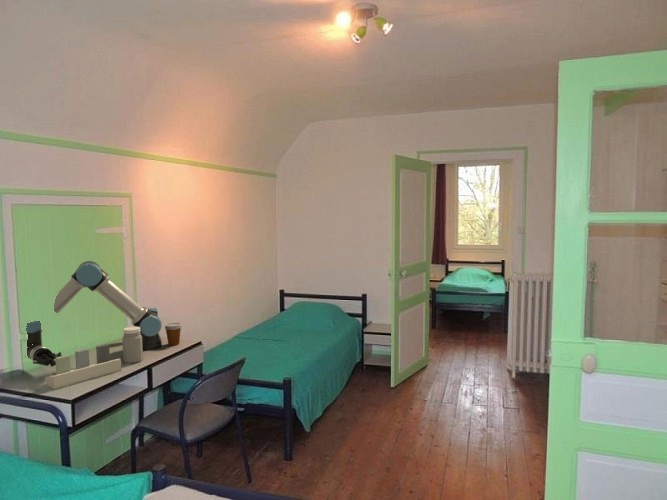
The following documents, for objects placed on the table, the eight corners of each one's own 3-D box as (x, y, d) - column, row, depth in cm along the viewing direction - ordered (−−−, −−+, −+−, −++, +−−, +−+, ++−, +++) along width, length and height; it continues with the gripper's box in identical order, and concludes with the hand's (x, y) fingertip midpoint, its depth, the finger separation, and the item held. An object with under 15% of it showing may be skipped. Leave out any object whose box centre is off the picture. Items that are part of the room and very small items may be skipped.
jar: (138, 357, 258) (137, 325, 256) (146, 361, 251) (144, 328, 249) (120, 361, 251) (118, 328, 249) (127, 365, 244) (126, 331, 242)
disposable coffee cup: (176, 346, 277) (176, 326, 276) (162, 345, 279) (161, 326, 278) (185, 342, 286) (184, 323, 285) (171, 341, 288) (170, 322, 287)
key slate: (76, 375, 227) (75, 351, 226) (87, 372, 231) (85, 348, 230) (79, 376, 225) (77, 352, 224) (89, 373, 229) (88, 349, 228)
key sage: (56, 382, 217) (55, 357, 216) (68, 379, 221) (66, 354, 220) (59, 384, 216) (58, 358, 215) (71, 380, 219) (69, 356, 218)
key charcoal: (97, 369, 235) (96, 346, 234) (107, 366, 239) (106, 344, 238) (100, 370, 233) (98, 347, 232) (110, 368, 237) (108, 345, 236)
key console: (45, 384, 218) (44, 371, 218) (111, 366, 242) (110, 355, 242) (54, 389, 212) (54, 376, 211) (121, 370, 236) (120, 359, 236)
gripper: (55, 359, 239) (76, 368, 224) (27, 365, 229) (46, 376, 214) (55, 344, 238) (75, 353, 224) (26, 350, 228) (45, 360, 213)
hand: (61, 364), depth 219 cm, fingers closed
